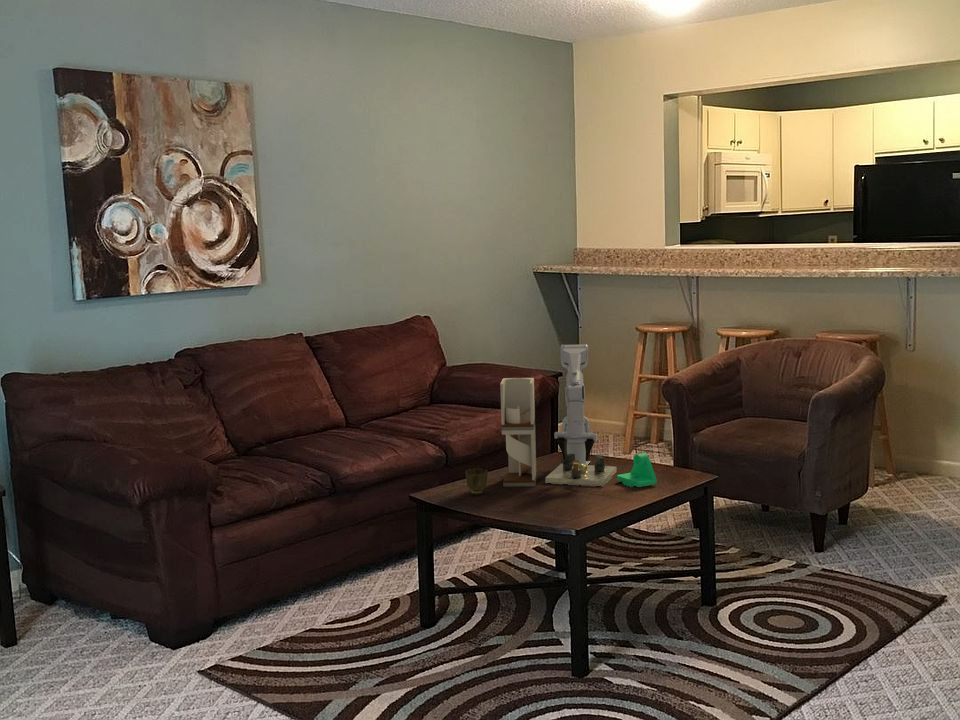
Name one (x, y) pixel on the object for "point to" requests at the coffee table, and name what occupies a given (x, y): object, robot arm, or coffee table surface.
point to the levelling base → (590, 473)
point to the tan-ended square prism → (576, 470)
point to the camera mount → (639, 472)
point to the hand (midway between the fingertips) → (576, 460)
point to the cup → (476, 480)
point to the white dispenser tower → (519, 430)
